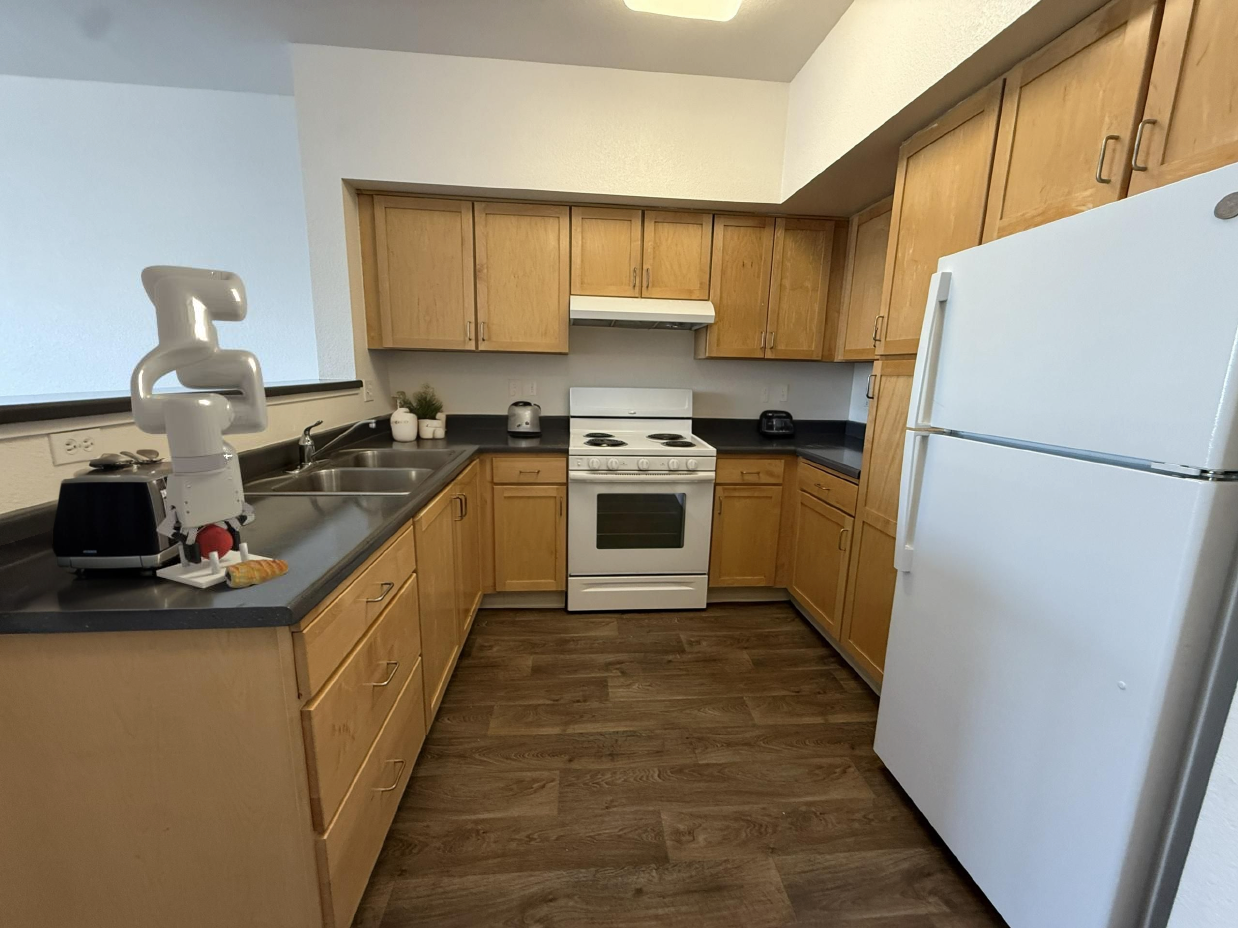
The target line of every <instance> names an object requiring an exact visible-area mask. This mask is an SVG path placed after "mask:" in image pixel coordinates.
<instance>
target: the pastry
mask: <svg viewBox="0 0 1238 928" xmlns="http://www.w3.org/2000/svg"><path fill="white" fill-rule="evenodd" d="M289 571H290V569H289V564H288V563H287V561H286V560H283V559H280V558H279V559H273V560H268V559H262V560H248V561H247V562H239V563H236V564H235V565H229V566H226V571H225V579H226V584H227V585H228V586H229V587H230V588H233V589H234V588H235V589H243V588H246V587H249V586H250V585H259V584H263V583H265V582H270V581H271V580H274V579H276V578H280V577H282V576H283V575H284V574H286V573H289Z"/></svg>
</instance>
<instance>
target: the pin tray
mask: <svg viewBox="0 0 1238 928" xmlns="http://www.w3.org/2000/svg"><path fill="white" fill-rule="evenodd" d="M239 549H240V551H238V552H236V551H231V550H229V552H228V553H227V554H226V555H225V556H223V557H222V558H221V559H218V553H217V552H210V553H209V558H210V560H208V559H205V558H203V557H201V559H202V562H201V563H199V564H194V563H190V562H188V560H186V559H185V556H184V551H183V545H182V544H181V545H179V546H178V551H179V555H180V563H177V564H175V565H171V566H167V567H164V568H161V569H157V570H156V577H160V578H165V579H166V580H172V581H175V582H178V583H183V584H186V585H190V586H194V587H196V588H201V589H206V588H208V587H211V586H214V585H216V584H220V583H222V582H225V581H226V582H227V580H226V579H225V571H226V566H229V565H235V564H236V563H239V562H247V561H248V560H262V559H268V560H274V559H273V558H270V557H265V556H260V555H256V554H253V553H249V551H248V544H247V542H241V543H240V544H239Z"/></svg>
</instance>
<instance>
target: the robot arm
mask: <svg viewBox="0 0 1238 928" xmlns="http://www.w3.org/2000/svg"><path fill="white" fill-rule="evenodd" d="M140 278H141V283H142V286H143V288H144V289H143V290H144V291H145V293H146V294H147V297H148V299H149V300H150V302H151V303H152V305H153V307H154V308H155V315H156V316H155V317H156V327H157V335H158V336H157V337H158V344H157V345H156V346H155V347H154V348H153V349H151V350H149V351H148V352H147V353H146V355H144V356H143V357H142V358H141V359H140V360H139V361H138V363H137V364H136V366H135V367H134V369H133V371H132V373H131V376H130V382H129V384H130V385H129V386H130V387H129V388H130V400H131V401H130V402H131V412H132V416H133V420H134V423H135V425H136V427H138V429H139V430H141V432H144V433H145V434H146V433H147V434H149V435H166V438H167V444H168V451H169V454H170V455H169V456H170V461H171V467H172V472H173V473H170V474H167V477H166V478H167V479H166V491H165V492H166V493H165V496H166V497H165V498H166V499H165V500H166V512H167V516H166V517H165V518H164V519H163V520H162V522H161V523H160V524H159V525H158V527H156V532H158V533H159V534H162V535H164V536H167V537H168V538H170V539H173V540H175V541H176V542H178V543H182V544H181V545H183V551H184V556H185V559H186V560H188V562H190V563H194V564H199V563H201V562H202V559H201V553H200V547H199V543H196V542H195V538H196V534H197V533H198V531H197V530H198V527H201V526H205V525H209V524H215V525H217V526H220V527H222V528H224V529H225V530H227V531H228V532H229V533H230V535H231V536H232V539H233V545H232V547H231V549H230V550H231V551H236V552H238V551H239V552H240V549H239V544H240V543H242V541H241V535H240V534H241V533H240V531H242V529H243V526H245V525H248V524H251V523H252V522H253V521H255V519H256V517H255V513H253V512H254V509H255V507H253V506H252V505H251V504H249V503H247V502H246V501H245V494H244V487H243V480H242V475H241V467H240V461H239V456H238V455H239V454H238V452H237V450H236V449H235V447H234V446H232V444H230V443H229V442H227V440H225V439H224V438H223V436H229V435H232V436H233V435H246V434H256V433H257V434H259V433H263V432H264V431H266V429H267V428H268V426H269V414H268V413H269V412H268V406H267V405H268V404H267V400H266V399H267V397H266V391H265V385H264V378H263V372H262V367H261V364H260V361H259V359H258V357H257V355H255V354H254V353H253V352H251V351H249V350H245V349H232V348H231V349H223V348H221V347H220V344H219V338H218V337H219V336H218V330H217V327H216V326H215V324H214V323H213V322H214V321H215V322H243V320H245V319H246V318H247V315H248V302H247V301H248V300H247V292H246V286H245V284H244V282H243V280H242V278H241V277H240V276H239V274H237V273H235V272H231V271H228V270H218V269H209V268H208V269H207V268H200V267H199V268H197V267H189V266H181V265H165V264H164V265H160V264H159V265H157V264H156V265H150V266H146V267H145V268H143V269H142V270H141V273H140ZM174 371H175V373H176V377H177V380H178V382H179V384H180V385H181V386H182V387H184V388H186V389H190V390H198V391H199V390H201V391H202V390H205V391H209V390H210V391H211V390H213V391H214V390H217V391H218V390H221V391H222V390H237V391H240V392H242V394H232V395H221V394H220V393H210V392H207V393H204V392H202V393H200V392H199V393H189V392H187V393H186V392H185V393H184V392H183V393H181V392H180V393H153V389H154V385H155V384H156V382H158V380H160V379H161V378H162V377H164V376H166V375H167V374H170V373H172V372H174ZM173 527H180V531H177V530H175V529H173Z"/></svg>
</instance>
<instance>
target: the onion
mask: <svg viewBox="0 0 1238 928" xmlns="http://www.w3.org/2000/svg"><path fill="white" fill-rule="evenodd" d="M195 542H196V543H199V547H200V553H201V557H203V558H205V559H208V560H210V558H209V553H210V552H217V553H218V559H221V558H222V557H223V556H225V555H226V554H227V553H228V552H229V550H230V549H231V547H232V545H233V539H232V536H231V535H230V533H229V532H228V531H227V529H224V528H222V527H220V526H217V525H215V524H209V525H205V527H204V528H202V529H201V530H200V531H197V534H196V538H195Z"/></svg>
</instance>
